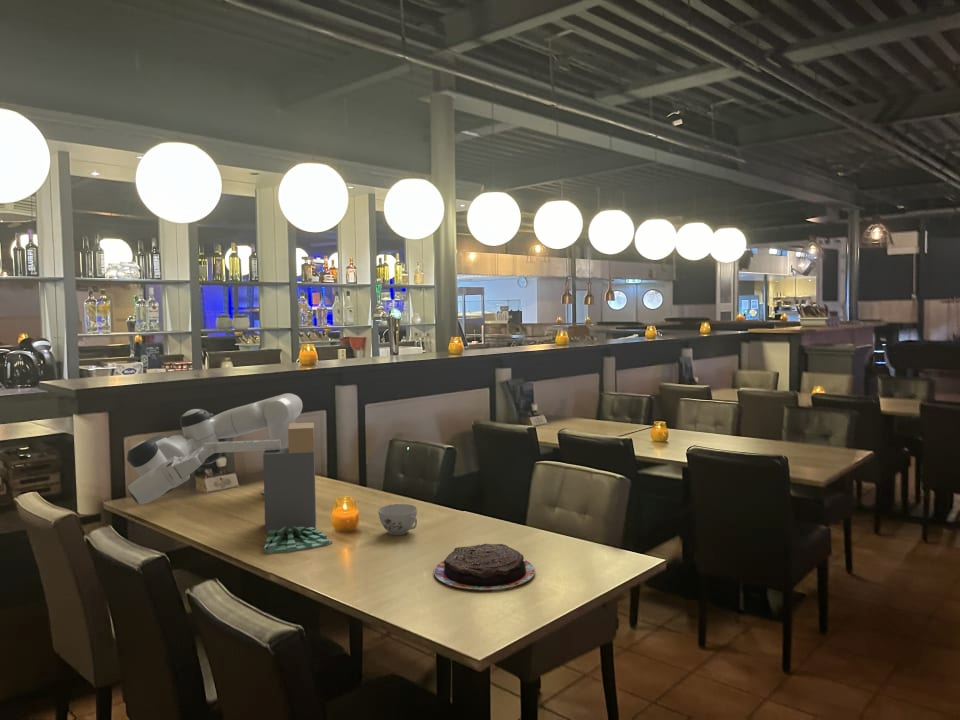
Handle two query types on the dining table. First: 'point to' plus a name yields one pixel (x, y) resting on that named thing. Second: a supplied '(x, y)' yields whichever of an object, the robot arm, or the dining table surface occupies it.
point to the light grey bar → (242, 446)
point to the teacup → (398, 518)
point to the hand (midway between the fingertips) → (215, 447)
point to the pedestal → (291, 481)
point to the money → (294, 540)
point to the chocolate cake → (484, 568)
